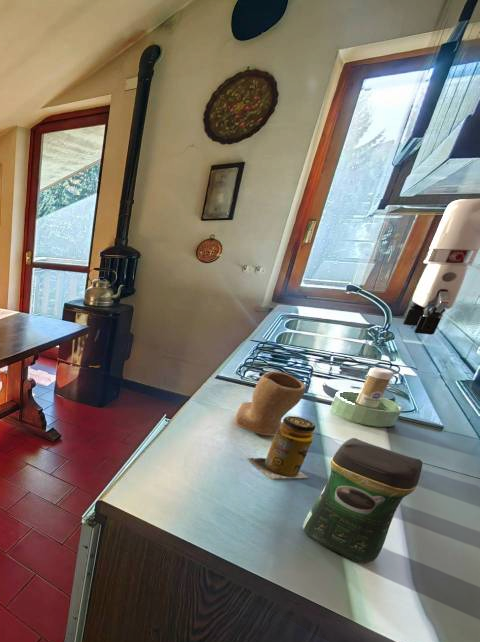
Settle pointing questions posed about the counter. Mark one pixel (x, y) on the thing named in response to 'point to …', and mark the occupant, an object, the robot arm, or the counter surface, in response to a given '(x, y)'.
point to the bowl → (365, 410)
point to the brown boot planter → (270, 403)
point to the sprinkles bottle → (374, 387)
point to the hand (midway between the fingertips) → (417, 329)
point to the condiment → (287, 449)
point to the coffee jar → (361, 499)
